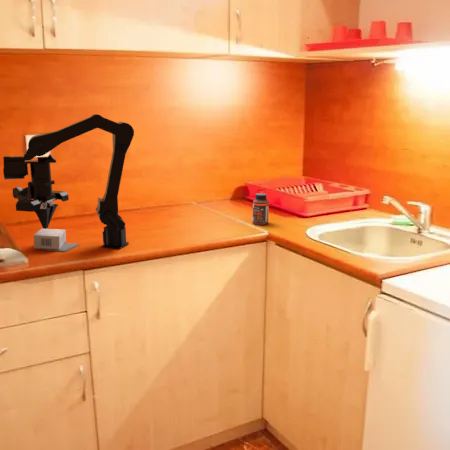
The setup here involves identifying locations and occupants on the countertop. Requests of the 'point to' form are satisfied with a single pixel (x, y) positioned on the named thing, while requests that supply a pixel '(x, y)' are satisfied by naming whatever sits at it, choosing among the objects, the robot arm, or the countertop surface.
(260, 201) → the supplement bottle
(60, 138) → the robot arm
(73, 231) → the countertop surface
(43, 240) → the medicine box
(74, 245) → the mat
